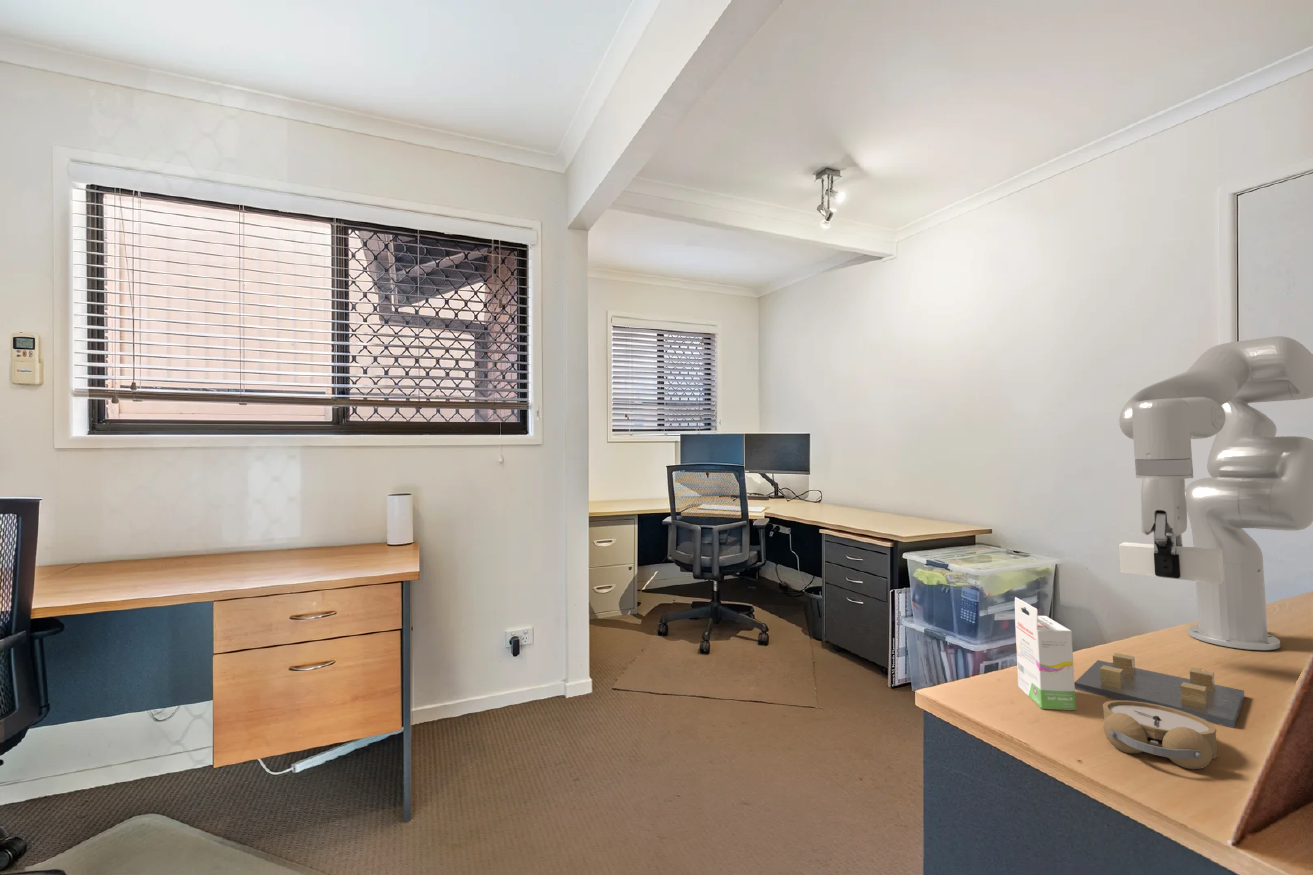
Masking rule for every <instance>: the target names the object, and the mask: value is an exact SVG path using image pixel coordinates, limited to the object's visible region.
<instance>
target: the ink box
mask: <svg viewBox="0 0 1313 875" xmlns="http://www.w3.org/2000/svg"><path fill="white" fill-rule="evenodd" d="M1023 610H1026V611H1027V612H1028V614H1027V613H1025V612H1024V611H1023ZM1038 613H1039V611H1038V608H1036V607H1034V606H1032V605H1031V604H1029V603H1028V602H1026V601H1024V600H1022V599H1020V598H1018V597H1016V596H1015V597H1014V623H1015V626H1014V627H1015V643H1016V645H1015V646H1016V647H1015V648H1016V664H1017V668H1016V670H1017V686H1018V688H1019V689H1021V691H1022V692H1024V693H1025V694H1026V696H1028V697H1029V698H1030V699H1031V700H1032V702H1034V703H1035V704H1036V705H1037V706H1038V707H1039V708H1040V709H1045V710H1062V711H1063V710H1064V711H1070V710H1071V711H1076V710H1077V704H1076V689H1075V672H1074V671H1075V670H1074V658H1073V657H1074V656H1073V654H1074V653H1073V631H1072V630H1070V629H1069V628H1067V627H1066V626H1064V625H1062V624H1060V623H1059V622H1057V621H1056V620H1053V619H1052V618H1050V617H1048V616H1047V615H1039V614H1038Z"/></svg>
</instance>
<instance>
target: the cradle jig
mask: <svg viewBox="0 0 1313 875" xmlns="http://www.w3.org/2000/svg"><path fill="white" fill-rule="evenodd" d="M1135 658H1136V656H1133V655H1129V654H1123V653H1118V652H1115V653H1114V654H1113V655H1112V662H1108V661H1103V660H1098V659H1097V660H1096V661H1095V662H1094V663H1093V664H1092V665H1091V666H1090V667H1089V668H1088V669H1087V670H1086V671H1085V672H1083V673H1082V674H1081V675H1080V677H1078V678H1077V679H1076V681H1074V684H1075V690H1078V691H1082V692H1086V693H1090V694H1094V695H1099V696H1103V697H1106V698H1110V699H1114V700H1126V701H1136V702H1144V703H1150V704H1155V705H1160V706H1165V707H1169V708H1173V709H1177V710H1180V711H1183V712H1186V713H1189V714H1192V715H1195V716H1197V717H1200V718H1202V719H1204V720H1206V721H1208V722H1209V723H1211V724H1217V725H1221V726H1225V727H1229V728H1232V729H1235V726H1236V724H1237V721H1238V717H1239V715H1240V711H1241V708H1242V705H1243V703H1244V700H1245V696H1246V695H1245V690H1244V689H1243V690H1242V689H1238V688H1235V687H1234V688H1233V687H1229V686H1223V685H1220V684H1216V683H1215V672H1214V671H1210V670H1205V669H1201V668H1200V669H1199V668H1195V667H1191V668H1190V670H1189V678H1186V677H1180V676H1177V675H1171V674H1167V673H1161V672H1156V671H1152V670H1146V669H1142V668H1139V667H1136V660H1135Z"/></svg>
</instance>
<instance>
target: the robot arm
mask: <svg viewBox="0 0 1313 875" xmlns="http://www.w3.org/2000/svg"><path fill="white" fill-rule="evenodd" d="M1312 398H1313V353H1312V352H1311V351H1310V350H1309V349H1308V348H1307V347H1305V345H1304V344H1302V343H1301V342H1299V341H1297V340H1296V339H1293V338H1291V337H1287V336H1280V335H1276V336H1266V337H1261V338H1260V337H1259V338H1256V339H1255V338H1253V339H1247V340H1240V341H1232V342H1231V341H1230V342H1224V343H1221V344H1218V345H1214V346H1212V347H1209V349H1207V350H1206V351H1204V352H1203V354H1201V355H1200V356H1199V358H1197V359H1196V361H1195V362H1193V364H1191V366H1190V367H1189V368H1188V369H1187V370H1186V371H1185V372H1182V373H1179V374H1176V375H1173V376H1172V377H1168V378H1166V379H1164V380H1161V381H1157V382H1155V383H1153V384H1151V385H1148V386H1146V387H1144V388H1142V389H1140V390H1139V391H1137V392H1136V393H1134V395H1132V397H1131V398H1129V400H1128V401H1127V402H1126V403H1125V404H1124V406H1123V408H1122V409H1121V412H1120V414H1119V419H1118V420H1119V421H1118V422H1119V428H1120V430H1121V432H1122V433H1123V434H1124V435H1125V436H1126V437H1127V438H1128V439H1131V440H1133V450H1134V451H1133V452H1134V467H1135V470H1134V471H1135V479H1140V480H1141V490H1140V495H1141V496H1140V503H1141V505H1140V506H1141V507H1140V508H1141V509H1140V510H1141V515H1140V516H1141V533H1142V534H1143V535H1145V536H1148V535H1150V534H1152V533H1153V544H1154V565H1155V575H1156V576H1160V577H1159V578H1163V577H1169V578H1168V579H1172V578H1179V577H1180V562H1179V554H1176V546H1183V538H1182V534H1184V533H1185V532H1186V531H1187V529H1188V519H1189V523H1190V529H1191V535H1192V542H1193V544H1192V545H1193V546H1192V547H1196V548H1210V549H1222V553H1223V568H1224V580H1223V582H1222V583H1221V584H1219V583H1210V582H1200V581H1195V591H1196V592H1195V593H1196V604H1197V606H1196V607H1197V623H1198V624H1193V625H1190V626H1189V627H1187V628H1188V629H1187V630H1188V634H1189V636H1190V637H1192V638H1193V639H1197V640H1199V641H1202V642H1205V643H1208V644H1209V643H1210V644H1213V645H1217V646H1222V647H1227V648H1234V649H1240V650H1241V649H1242V650H1250V651H1272V650H1277V649H1280V648H1281V640H1280V639H1279V638H1277V637H1276V636H1273V635H1272V634H1268V621H1267V620H1268V619H1267V606H1266V605H1267V602H1266V591H1265V588H1266V587H1265V573H1264V571H1265V570H1264V556H1263V551H1262V550H1261V547H1260V545H1259V544H1258V543H1257V542H1256V541H1255V540H1254V538H1252V537H1251V536H1250V534H1248V533H1247V532H1246V531H1245V530H1244V529H1256V530H1257V529H1258V530H1259V529H1260V530H1271V531H1272V530H1274V531H1302V530H1305V529H1307V528H1308V527H1310V526H1311V525H1312V523H1313V439H1312V438H1309V437H1305V436H1293V435H1292V436H1291V435H1289V436H1288V435H1287V436H1276V435H1277V425H1276V424H1275V421H1273V420H1272V419H1271V418H1270V417H1268V415H1266V414H1265V413H1263V411H1260V410H1259V409H1257V408H1255V407H1253V406H1251V405H1249V404H1253V403H1256V404H1257V403H1269V402H1271V403H1272V402H1283V401H1284V402H1285V401H1297V400H1307V399H1312ZM1213 436H1214V439H1213V443H1212V445H1211V447H1210V451H1209V454H1208V458H1207V463H1206V467H1207V469H1206V470H1207V472H1208V475H1209V476H1210V477H1204V478H1199V479H1196V480H1193V481H1192V482H1191V483H1189V484H1188V485H1187V486H1186V481H1185V480H1186V479H1194V470H1193V467H1194V466H1193V453H1192V441H1191V440H1199V439H1200V440H1201V439H1207V438H1211V437H1213ZM1183 547H1184V546H1183Z"/></svg>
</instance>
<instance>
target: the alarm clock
mask: <svg viewBox="0 0 1313 875" xmlns="http://www.w3.org/2000/svg"><path fill="white" fill-rule="evenodd" d="M1102 708H1103V725H1102V728H1103V732H1104V735H1105V737H1106V739H1107V740H1108V742H1109V743H1110V744H1111V745H1112V746H1113V747H1115V749H1117V750H1119V751H1121V752H1122V753H1127V754H1130V755H1131V754H1140V753H1142V752H1144V753H1148V754H1151V755H1156V756H1159V757H1163V758H1164V757H1165V758H1168V759H1169V760H1170V761H1171V762H1172V763H1174V764H1175V765H1178V766H1180V767H1181V768H1184V769H1187V770H1199V769H1203V768H1206V766H1208V765H1210V763H1211V760H1214V759H1216V758H1217V757H1218V748H1217V746H1218V745H1217V728H1216V726H1214V723H1212V722H1208V721H1206V720H1204V719H1202V718H1200V717H1197V716H1195V715H1192V714H1189V713H1186V712H1183V711H1180V710H1177V709H1173V708H1169V707H1165V706H1160V705H1155V704H1150V703H1144V702H1136V701H1126V700H1118V699H1114V700H1107V701H1106V702H1104V703H1103V704H1102Z"/></svg>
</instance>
